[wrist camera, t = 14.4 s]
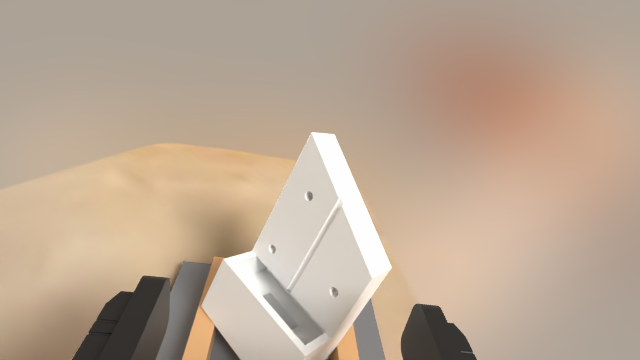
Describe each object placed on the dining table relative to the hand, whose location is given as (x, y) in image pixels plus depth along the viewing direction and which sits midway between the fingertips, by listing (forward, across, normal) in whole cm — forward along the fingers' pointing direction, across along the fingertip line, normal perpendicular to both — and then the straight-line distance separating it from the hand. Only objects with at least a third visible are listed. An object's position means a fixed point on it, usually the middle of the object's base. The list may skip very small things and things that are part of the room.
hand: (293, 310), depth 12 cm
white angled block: (+4, +1, +6) cm, 8 cm away
